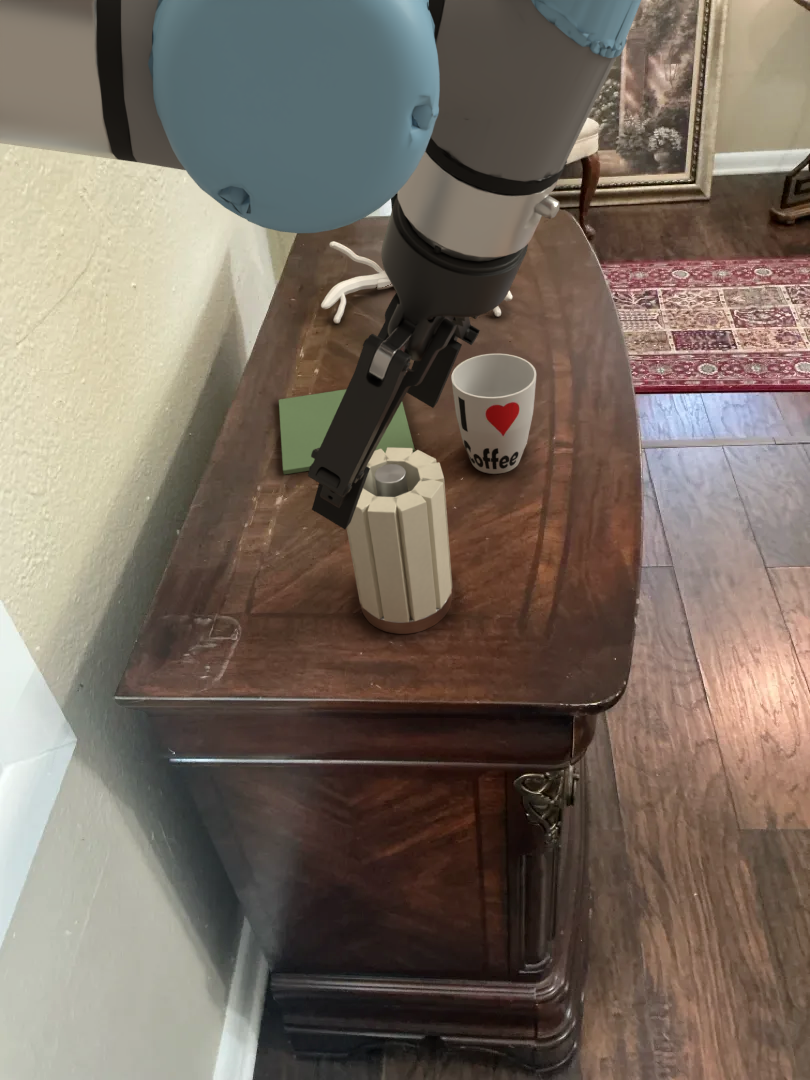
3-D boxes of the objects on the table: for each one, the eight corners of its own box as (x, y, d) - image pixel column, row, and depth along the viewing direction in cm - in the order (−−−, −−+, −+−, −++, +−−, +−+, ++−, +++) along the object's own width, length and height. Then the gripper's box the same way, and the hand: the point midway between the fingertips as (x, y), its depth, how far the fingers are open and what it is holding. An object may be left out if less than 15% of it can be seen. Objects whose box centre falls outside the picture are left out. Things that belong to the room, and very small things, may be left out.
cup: (445, 475, 88) (439, 391, 81) (471, 431, 93) (467, 348, 87) (522, 489, 85) (522, 403, 79) (544, 442, 91) (546, 358, 84)
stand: (365, 641, 72) (343, 514, 63) (356, 576, 78) (334, 451, 69) (459, 625, 73) (450, 496, 63) (443, 561, 79) (432, 435, 69)
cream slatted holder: (363, 630, 71) (344, 520, 63) (354, 563, 77) (334, 455, 69) (459, 614, 72) (451, 502, 64) (442, 548, 78) (432, 439, 70)
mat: (283, 474, 91) (282, 470, 90) (279, 403, 101) (278, 399, 101) (415, 454, 91) (414, 449, 91) (397, 385, 102) (396, 381, 101)
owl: (511, 262, 121) (511, 188, 110) (512, 337, 115) (512, 267, 104) (336, 271, 124) (319, 199, 113) (328, 345, 118) (309, 277, 107)
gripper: (418, 395, 38) (335, 605, 56) (605, 146, 52) (491, 377, 70) (275, 311, 39) (238, 545, 56) (498, 86, 53) (412, 331, 70)
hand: (378, 453), depth 63 cm, fingers open, 13 cm apart
